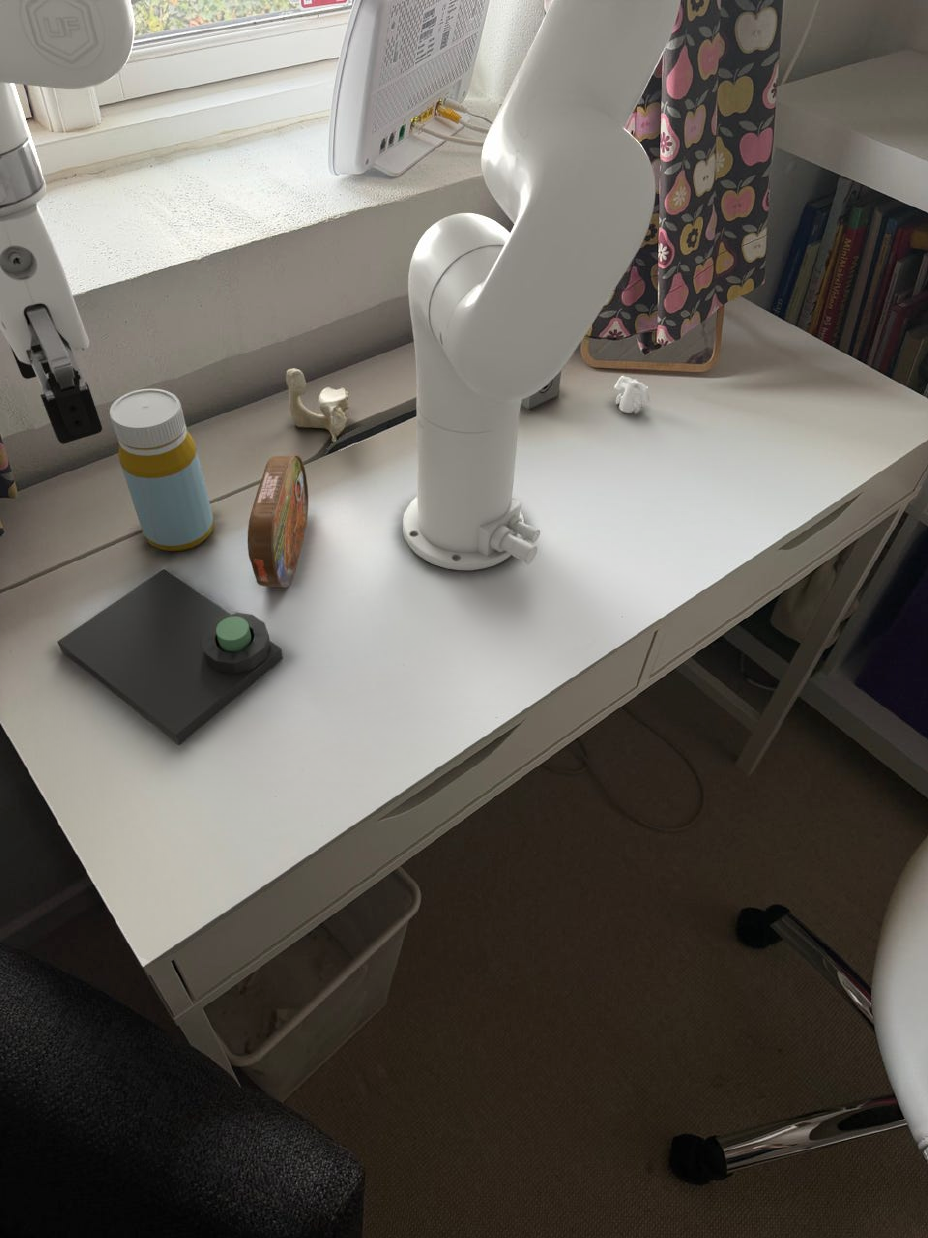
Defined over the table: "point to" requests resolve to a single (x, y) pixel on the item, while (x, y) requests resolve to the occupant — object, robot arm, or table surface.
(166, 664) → the scale
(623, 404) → the clip
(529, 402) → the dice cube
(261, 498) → the tin
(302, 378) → the bone
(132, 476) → the bottle
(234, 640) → the button
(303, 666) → the table surface
